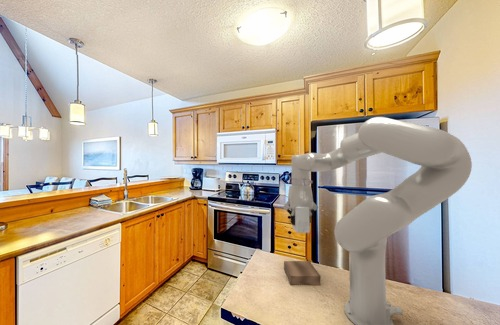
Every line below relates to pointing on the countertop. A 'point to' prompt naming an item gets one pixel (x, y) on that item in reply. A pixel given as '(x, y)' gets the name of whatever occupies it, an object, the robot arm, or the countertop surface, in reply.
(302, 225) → the small box
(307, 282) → the walnut block
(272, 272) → the countertop surface
